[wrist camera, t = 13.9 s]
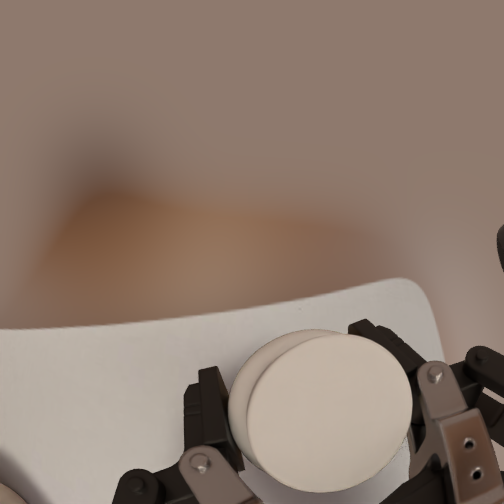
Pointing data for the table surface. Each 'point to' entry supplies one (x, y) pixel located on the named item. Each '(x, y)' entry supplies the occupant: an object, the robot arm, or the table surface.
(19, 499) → the bowl
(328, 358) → the supplement bottle
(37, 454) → the table surface
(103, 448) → the table surface
